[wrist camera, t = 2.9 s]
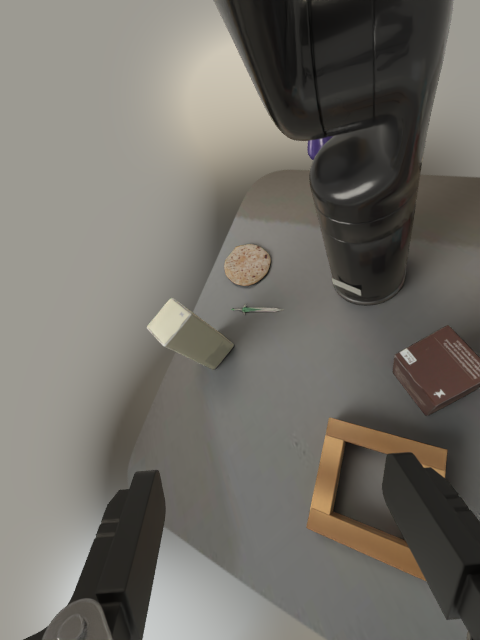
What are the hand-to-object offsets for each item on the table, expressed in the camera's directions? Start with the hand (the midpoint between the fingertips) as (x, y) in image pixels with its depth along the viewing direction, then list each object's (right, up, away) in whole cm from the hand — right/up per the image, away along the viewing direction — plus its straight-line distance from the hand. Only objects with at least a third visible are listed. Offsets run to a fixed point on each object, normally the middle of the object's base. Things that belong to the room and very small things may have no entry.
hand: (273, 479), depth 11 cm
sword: (+1, +7, +38) cm, 38 cm away
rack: (+14, -13, +23) cm, 30 cm away
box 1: (-5, +1, +37) cm, 38 cm away
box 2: (+21, -1, +25) cm, 33 cm away
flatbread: (0, +15, +41) cm, 44 cm away
